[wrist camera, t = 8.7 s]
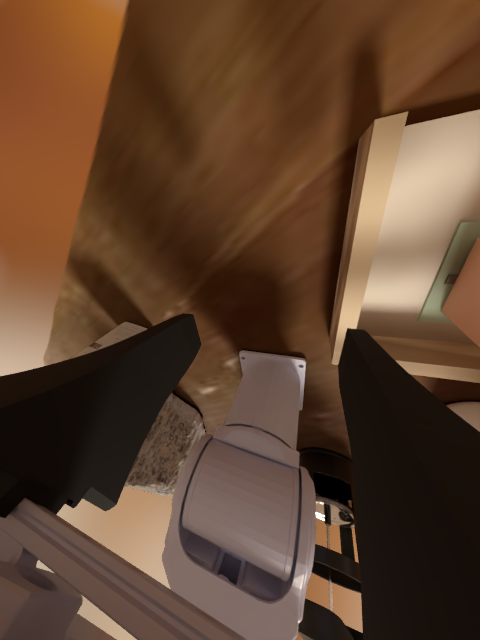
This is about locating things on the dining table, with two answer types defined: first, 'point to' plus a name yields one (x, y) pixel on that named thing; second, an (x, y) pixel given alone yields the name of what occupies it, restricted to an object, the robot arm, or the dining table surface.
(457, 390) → the dining table surface
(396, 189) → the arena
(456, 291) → the terracotta cube
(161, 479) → the grey brown chunky block
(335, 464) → the french press
